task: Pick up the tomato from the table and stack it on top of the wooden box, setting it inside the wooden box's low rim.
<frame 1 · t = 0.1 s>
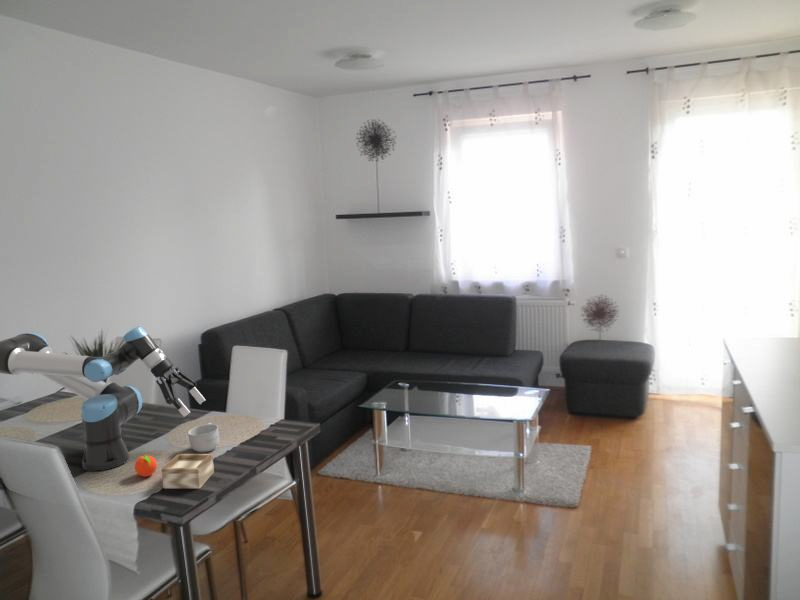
hand: (195, 408, 232), 15 cm above the table, tool tilted 35°, fingers open, 13 cm apart
tomato: (147, 476, 211), on the table
wooden box: (189, 480, 207), on the table
teacup: (207, 448, 234), on the table
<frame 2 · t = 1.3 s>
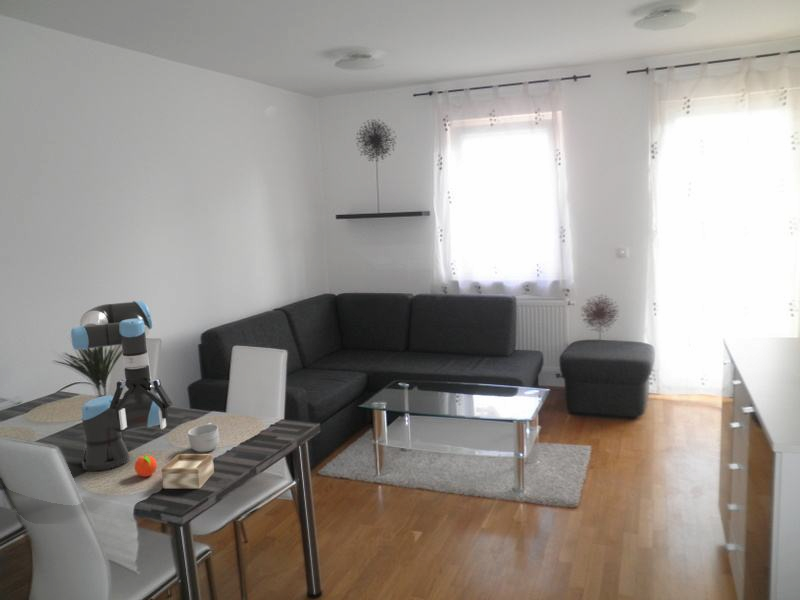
hand: (143, 428, 209), 17 cm above the table, tool pointing down, fingers open, 13 cm apart
nothing on the table moved.
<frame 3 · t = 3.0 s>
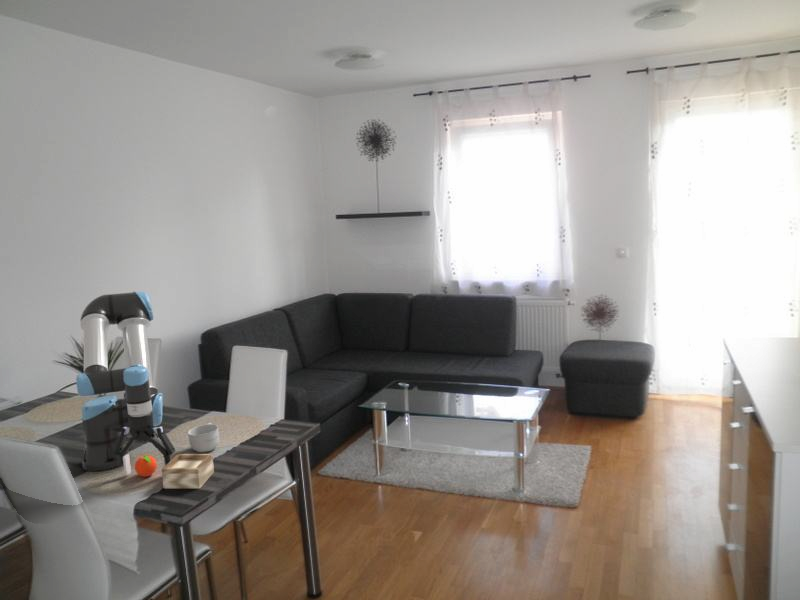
hand: (147, 473, 211), 1 cm above the table, tool pointing down, fingers open, 13 cm apart
nothing on the table moved.
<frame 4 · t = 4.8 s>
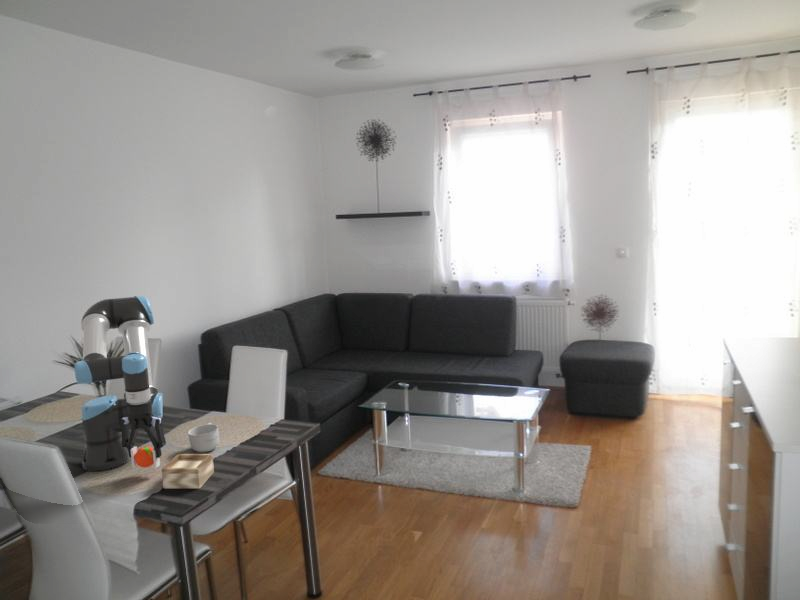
hand: (146, 466, 211), 3 cm above the table, tool pointing down, fingers closed on tomato, 7 cm apart
tomato: (147, 467, 212), point 3 cm above the table, touching gripper
everything else where it was.
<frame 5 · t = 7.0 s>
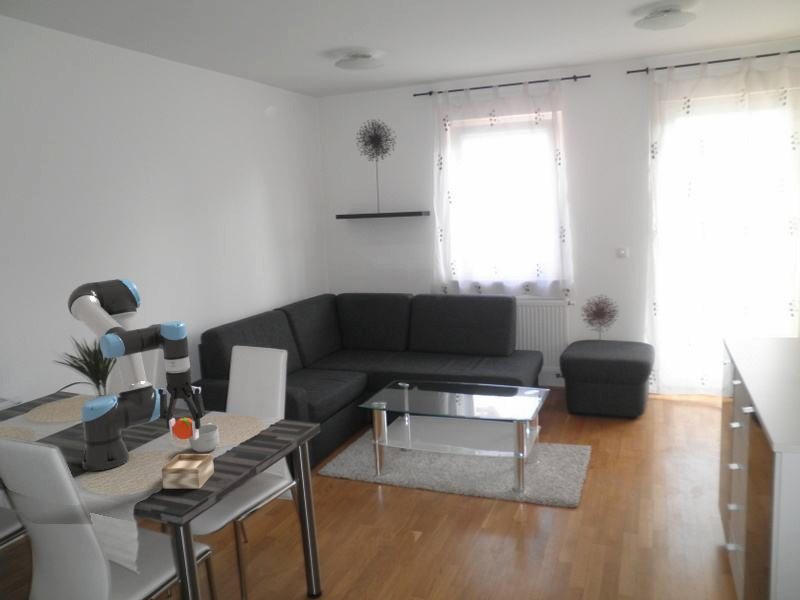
hand: (185, 438, 204), 14 cm above the table, tool pointing down, fingers closed on tomato, 7 cm apart
tomato: (186, 439, 204), point 14 cm above the table, touching gripper
everything else where it was.
when the fingers open (7 cm above the table, at t = 9.0 s): tomato drops 2 cm, resting on wooden box.
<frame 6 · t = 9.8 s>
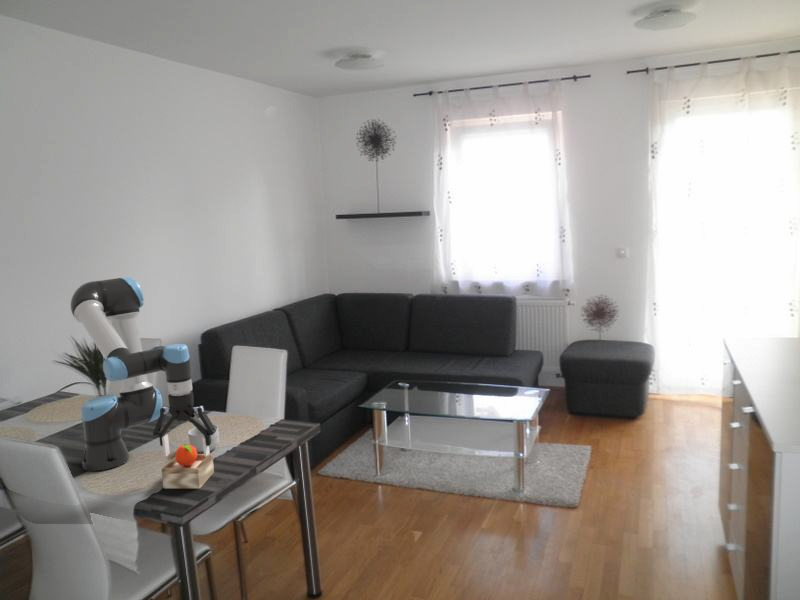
hand: (186, 455, 205), 9 cm above the table, tool pointing down, fingers open, 13 cm apart
tomato: (188, 466, 206), point 5 cm above the table, touching wooden box
everything else where it was.
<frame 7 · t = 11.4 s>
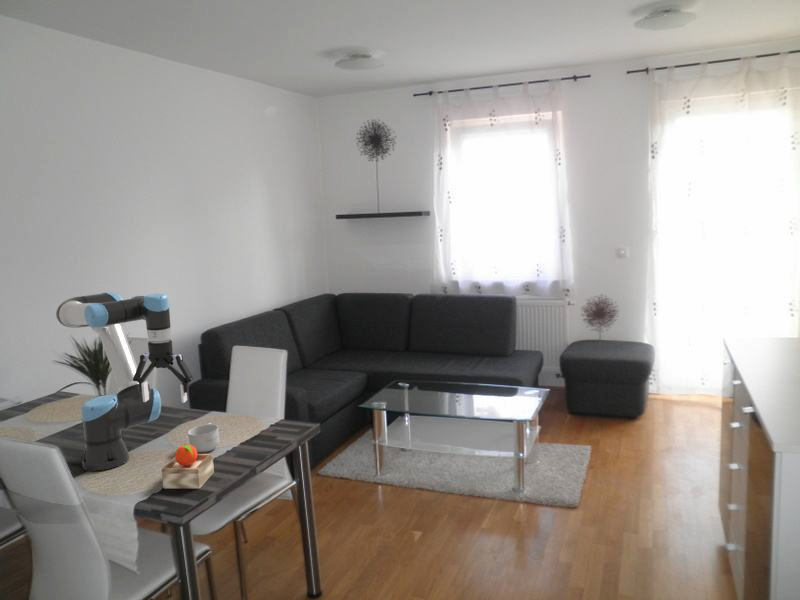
hand: (165, 401, 213), 24 cm above the table, tool pointing down, fingers open, 13 cm apart
nothing on the table moved.
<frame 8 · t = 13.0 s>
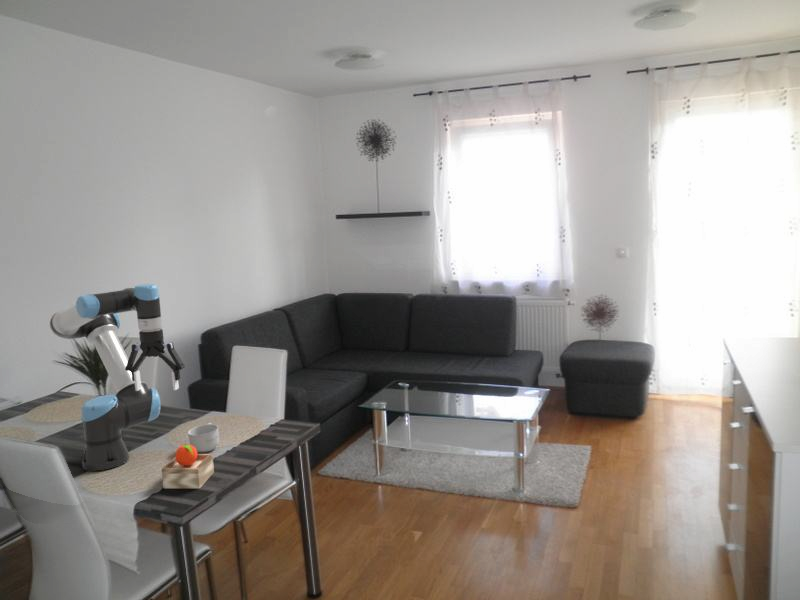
hand: (157, 389, 218), 27 cm above the table, tool pointing down, fingers open, 13 cm apart
nothing on the table moved.
at the end: tomato inside the target area on the wooden box (0.1 cm from its centre), point 4.8 cm above the wooden box's base; tomato touching wooden box; the gripper is holding nothing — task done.
